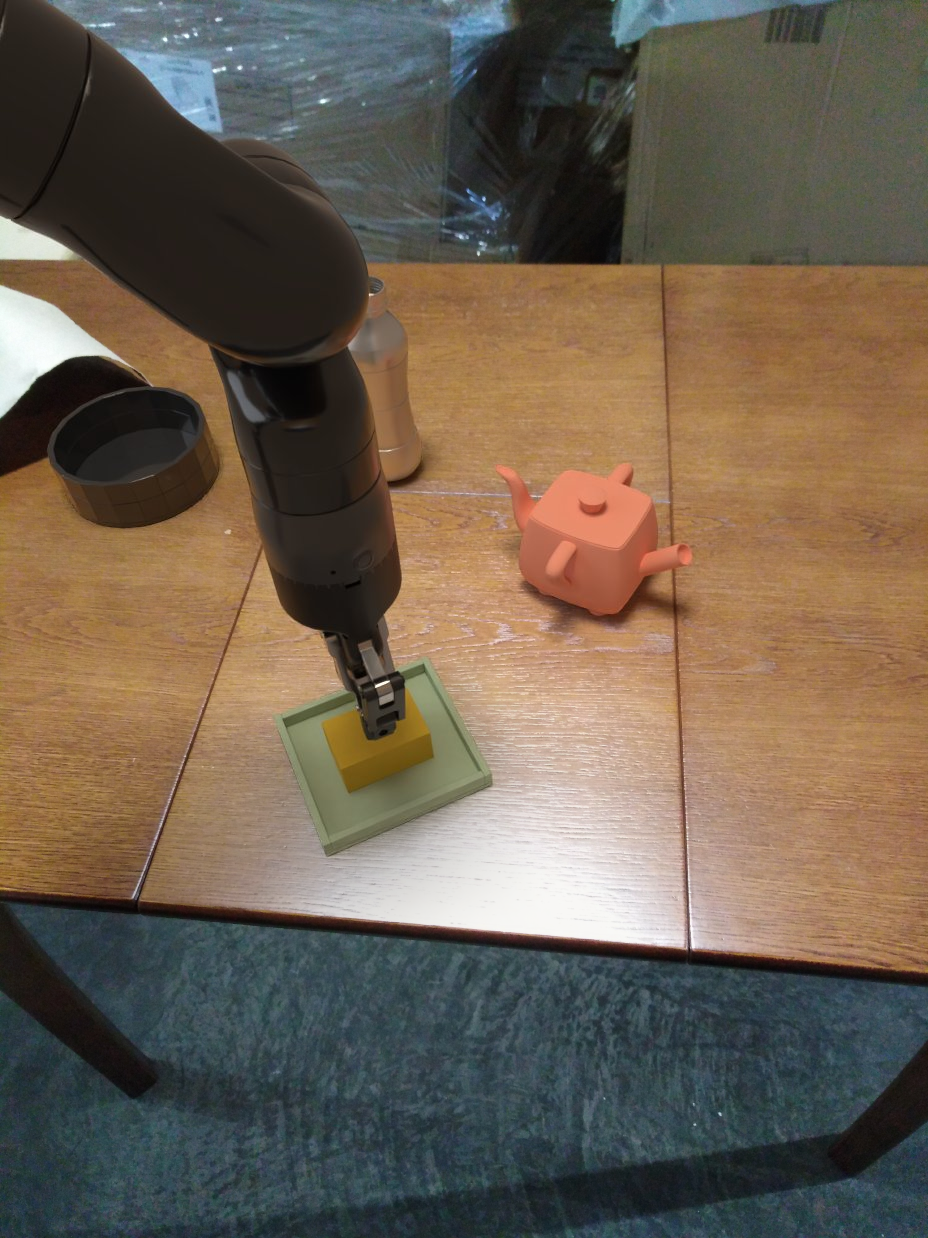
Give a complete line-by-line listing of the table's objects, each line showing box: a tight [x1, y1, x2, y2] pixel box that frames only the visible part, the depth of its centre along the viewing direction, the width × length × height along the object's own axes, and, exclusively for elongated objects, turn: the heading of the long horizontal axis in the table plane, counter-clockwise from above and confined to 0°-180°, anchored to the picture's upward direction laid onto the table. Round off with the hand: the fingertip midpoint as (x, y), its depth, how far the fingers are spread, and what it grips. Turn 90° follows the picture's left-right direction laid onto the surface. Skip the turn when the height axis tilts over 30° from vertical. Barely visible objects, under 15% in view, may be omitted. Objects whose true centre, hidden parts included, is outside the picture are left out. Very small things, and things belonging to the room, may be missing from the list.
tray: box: [273, 655, 493, 857], centre depth 69 cm, size 13×12×2 cm
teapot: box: [494, 462, 693, 617], centre depth 76 cm, size 14×12×10 cm
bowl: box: [46, 385, 220, 528], centre depth 90 cm, size 15×15×6 cm
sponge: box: [321, 688, 434, 793], centre depth 67 cm, size 7×4×4 cm, turn 115°
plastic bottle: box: [348, 275, 423, 482], centre depth 83 cm, size 6×7×20 cm
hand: (366, 702), depth 64 cm, fingers open, 5 cm apart
